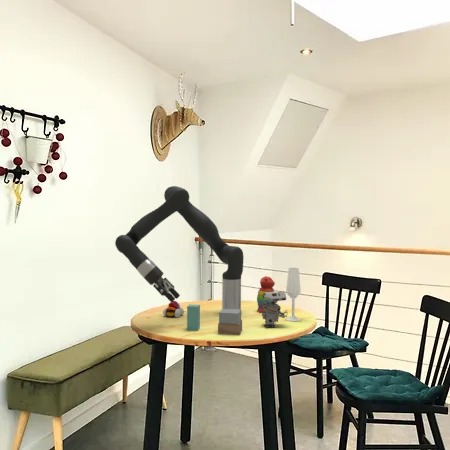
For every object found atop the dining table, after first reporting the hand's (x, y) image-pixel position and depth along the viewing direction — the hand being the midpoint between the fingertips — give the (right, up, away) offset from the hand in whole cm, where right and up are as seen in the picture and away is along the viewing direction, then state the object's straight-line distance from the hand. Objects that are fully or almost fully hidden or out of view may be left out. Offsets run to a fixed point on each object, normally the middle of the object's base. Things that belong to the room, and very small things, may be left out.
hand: (175, 298), depth 203 cm
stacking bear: (+42, -12, +37) cm, 57 cm away
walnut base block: (+23, -13, -5) cm, 27 cm away
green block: (+8, -13, -1) cm, 15 cm away
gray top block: (+23, -9, -5) cm, 25 cm away
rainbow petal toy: (-4, -12, +25) cm, 28 cm away
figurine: (+43, -13, +6) cm, 45 cm away
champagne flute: (+53, -13, +19) cm, 57 cm away
